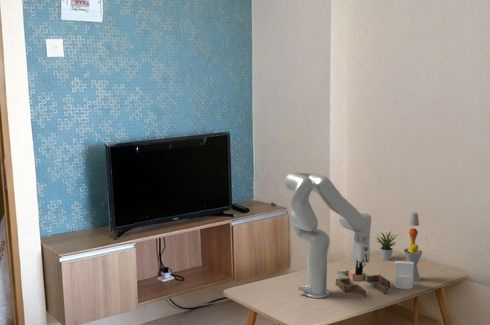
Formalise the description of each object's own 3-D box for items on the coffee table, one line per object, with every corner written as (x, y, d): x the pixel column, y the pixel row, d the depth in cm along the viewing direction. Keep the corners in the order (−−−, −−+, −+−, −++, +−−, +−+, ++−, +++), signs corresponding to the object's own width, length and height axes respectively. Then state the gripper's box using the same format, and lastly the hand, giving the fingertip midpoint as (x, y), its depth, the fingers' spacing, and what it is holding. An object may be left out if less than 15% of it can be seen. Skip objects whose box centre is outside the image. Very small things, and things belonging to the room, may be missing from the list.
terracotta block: (352, 281, 293) (352, 273, 293) (348, 277, 299) (348, 269, 299) (363, 280, 294) (363, 273, 294) (359, 276, 300) (359, 269, 300)
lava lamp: (399, 276, 299) (401, 211, 294) (414, 275, 301) (417, 210, 296) (408, 282, 290) (411, 215, 285) (424, 281, 293) (427, 214, 288)
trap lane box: (351, 298, 271) (352, 292, 270) (326, 277, 298) (326, 271, 298) (397, 292, 277) (398, 286, 277) (369, 273, 305) (369, 267, 304)
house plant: (396, 254, 336) (397, 227, 333) (404, 262, 322) (405, 234, 320) (372, 255, 335) (373, 228, 333) (379, 262, 321) (380, 234, 319)
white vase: (395, 288, 283) (396, 265, 281) (393, 281, 292) (394, 259, 290) (414, 289, 282) (415, 265, 280) (411, 282, 291) (412, 260, 289)
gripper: (376, 242, 278) (372, 279, 280) (361, 234, 292) (358, 269, 294) (362, 242, 276) (358, 279, 278) (348, 234, 290) (345, 270, 292)
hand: (358, 274), depth 286 cm, fingers closed
